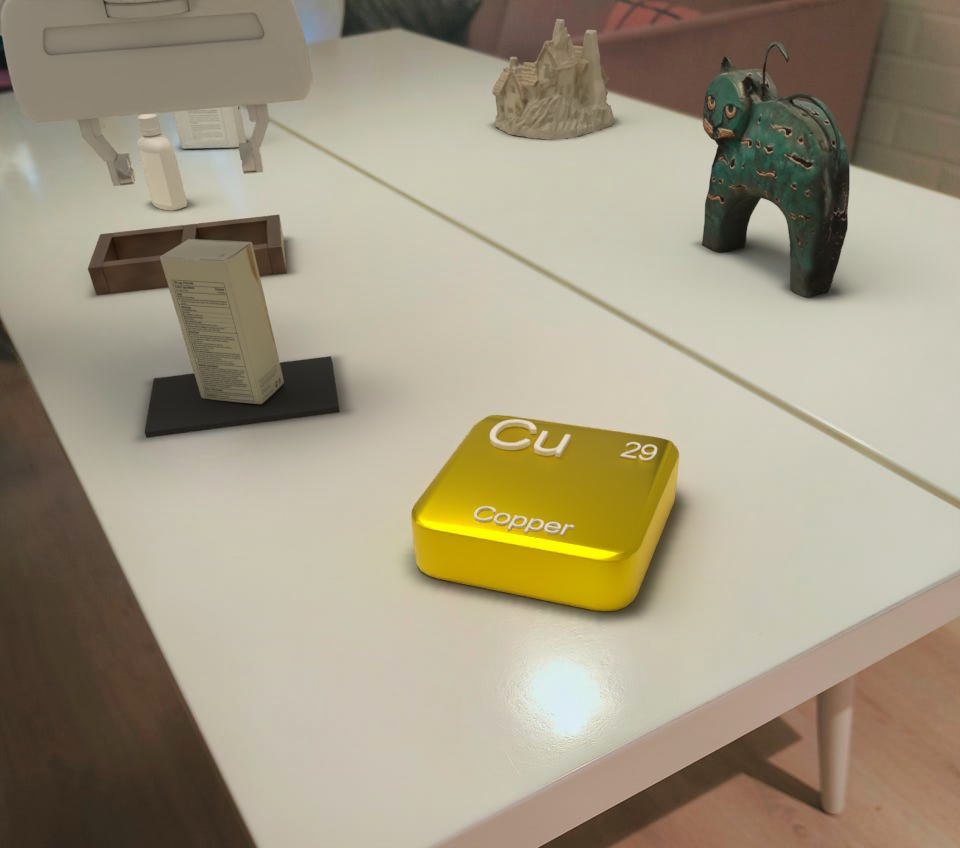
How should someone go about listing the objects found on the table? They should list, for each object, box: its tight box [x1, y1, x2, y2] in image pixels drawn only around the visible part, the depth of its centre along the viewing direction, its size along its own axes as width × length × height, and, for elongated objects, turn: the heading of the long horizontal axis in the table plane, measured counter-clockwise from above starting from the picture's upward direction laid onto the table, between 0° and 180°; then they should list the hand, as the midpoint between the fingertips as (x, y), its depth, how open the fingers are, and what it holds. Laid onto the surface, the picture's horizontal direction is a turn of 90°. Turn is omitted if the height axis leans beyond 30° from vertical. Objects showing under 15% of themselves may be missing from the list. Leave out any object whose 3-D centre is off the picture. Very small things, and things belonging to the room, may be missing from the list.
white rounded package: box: [172, 106, 247, 150], centre depth 140 cm, size 10×4×12 cm, turn 86°
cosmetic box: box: [160, 239, 284, 404], centre depth 77 cm, size 6×4×12 cm
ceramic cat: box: [701, 40, 851, 299], centre depth 92 cm, size 20×6×20 cm, turn 23°
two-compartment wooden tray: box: [87, 214, 288, 296], centre depth 105 cm, size 20×11×3 cm, turn 100°
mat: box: [144, 355, 340, 439], centre depth 81 cm, size 16×10×1 cm, turn 100°
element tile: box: [410, 414, 680, 612], centre depth 63 cm, size 15×15×5 cm
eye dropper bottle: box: [136, 113, 188, 211], centre depth 119 cm, size 4×6×12 cm
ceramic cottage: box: [492, 18, 615, 141], centre depth 140 cm, size 16×16×15 cm
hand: (189, 177), depth 70 cm, fingers open, 8 cm apart
